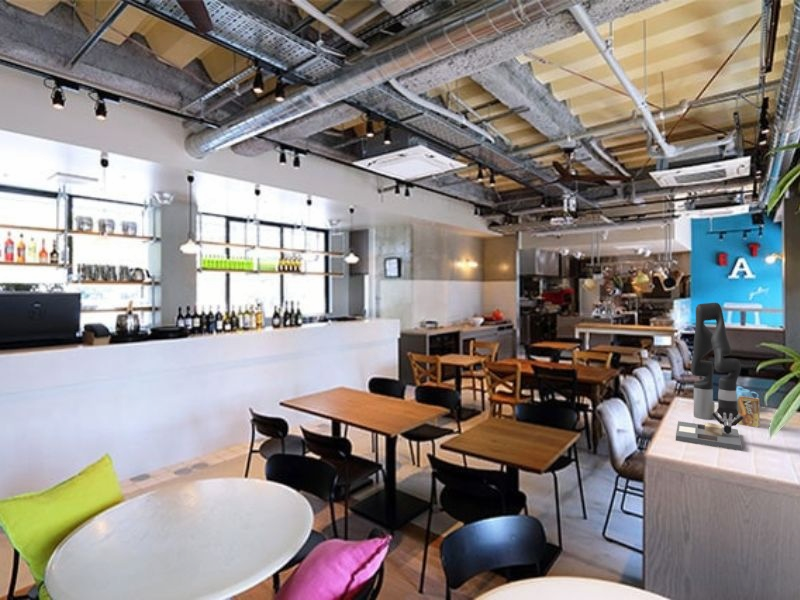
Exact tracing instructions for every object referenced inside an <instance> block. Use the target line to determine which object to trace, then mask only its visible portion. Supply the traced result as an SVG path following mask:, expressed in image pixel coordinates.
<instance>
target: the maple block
mask: <svg viewBox="0 0 800 600" xmlns="http://www.w3.org/2000/svg"><path fill="white" fill-rule="evenodd" d="M704 425H705V434H709V435H716V436H722V427H723V424H720V423H710V422H704Z"/></svg>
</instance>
